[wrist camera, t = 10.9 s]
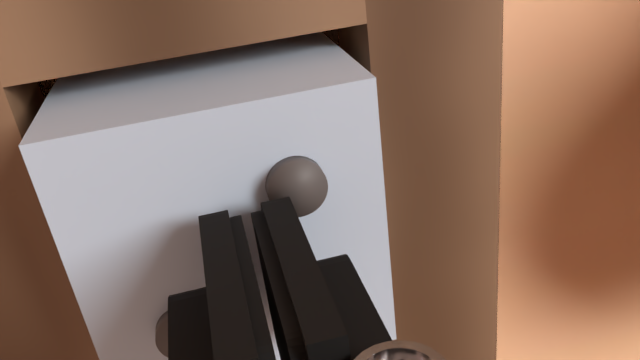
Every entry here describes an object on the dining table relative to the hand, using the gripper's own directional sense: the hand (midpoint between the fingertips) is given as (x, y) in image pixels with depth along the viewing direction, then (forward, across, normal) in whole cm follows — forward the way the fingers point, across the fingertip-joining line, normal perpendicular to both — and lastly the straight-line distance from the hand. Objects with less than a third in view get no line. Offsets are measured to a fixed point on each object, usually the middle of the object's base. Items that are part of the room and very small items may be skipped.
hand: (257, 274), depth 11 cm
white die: (+5, 0, 0) cm, 5 cm away
